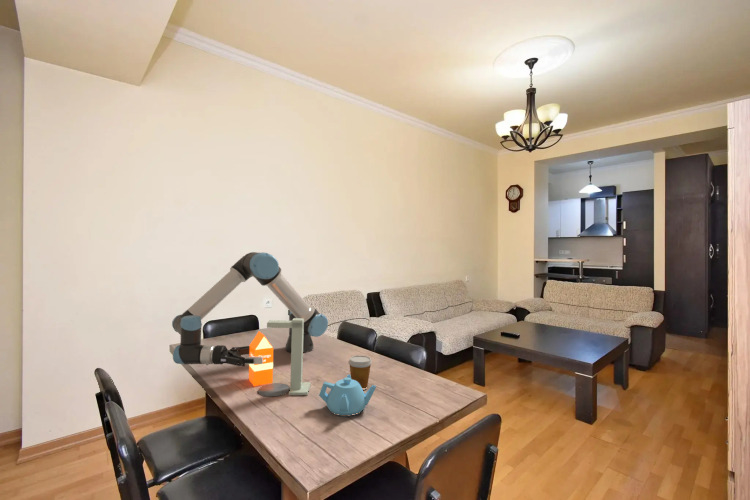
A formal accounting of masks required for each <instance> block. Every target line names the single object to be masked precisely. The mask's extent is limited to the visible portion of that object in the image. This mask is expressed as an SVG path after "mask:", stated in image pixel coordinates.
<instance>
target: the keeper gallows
mask: <svg viewBox="0 0 750 500" xmlns="http://www.w3.org/2000/svg"><path fill="white" fill-rule="evenodd" d="M266 328H267V329H273V328H274V329H289V328H292V342H291V352H290V382H289V383H290V385H289V387H290V391H289V392H288V396H289V395H307V394H309V392H308V391H310V389H309V388H311V385H310V384H311V381H308V382H307V381H303V371H304V370H303V363H304V360H303V359H304V353H303V334H304V318H294V319H293V320H292V321H289V320H276V319H275V320H273V319H272V320H271V319H270V320H268V321H267V322H266ZM307 396H308V395H307Z"/></svg>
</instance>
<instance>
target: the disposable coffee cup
mask: <svg viewBox="0 0 750 500" xmlns="http://www.w3.org/2000/svg"><path fill="white" fill-rule="evenodd" d="M347 362H348V364H349V375H350V376H351V379H352V380H355V381H357V382H358V383H359V384H360V386H361V387H362V388H366V387H367V388H368V384H369V379H370V372H371V366H372V363H373V361H372V358H371V357H369V356H367V355H360V354H359V355H353V356H351V357H350V358H349V360H348V361H347Z"/></svg>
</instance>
